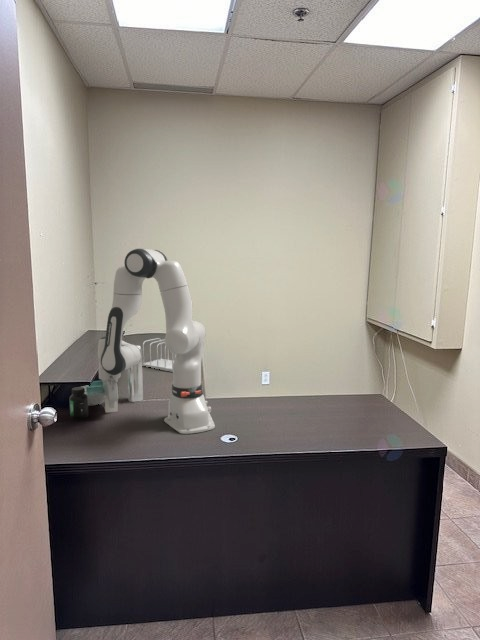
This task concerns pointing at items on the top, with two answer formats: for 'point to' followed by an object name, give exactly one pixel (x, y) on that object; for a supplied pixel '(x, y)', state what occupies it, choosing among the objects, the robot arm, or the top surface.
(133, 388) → the silver metal cylinder
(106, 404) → the pump block
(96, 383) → the motor housing
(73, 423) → the top surface
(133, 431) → the top surface
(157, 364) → the file sorter
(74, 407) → the supplement bottle
